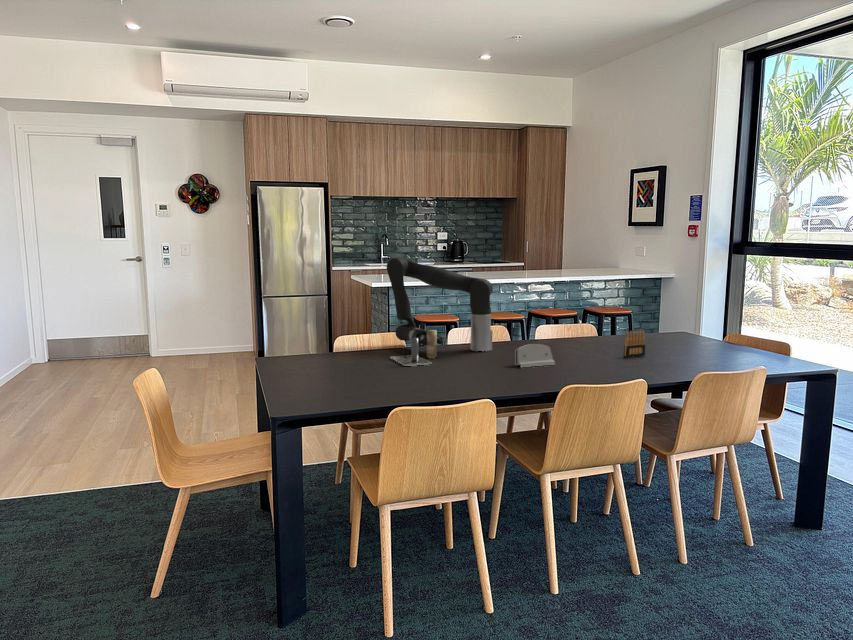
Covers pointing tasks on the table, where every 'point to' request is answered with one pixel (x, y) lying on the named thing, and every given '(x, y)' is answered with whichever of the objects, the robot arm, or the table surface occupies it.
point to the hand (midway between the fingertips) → (433, 342)
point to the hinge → (533, 355)
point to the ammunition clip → (634, 344)
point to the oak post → (431, 343)
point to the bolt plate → (408, 361)
